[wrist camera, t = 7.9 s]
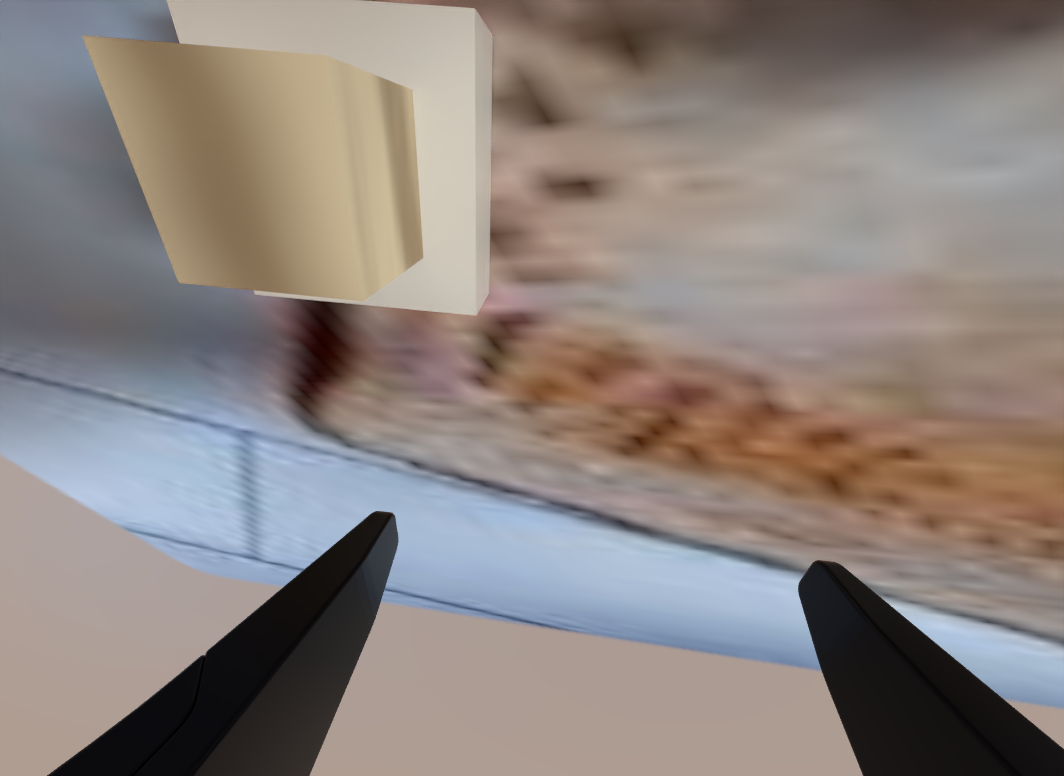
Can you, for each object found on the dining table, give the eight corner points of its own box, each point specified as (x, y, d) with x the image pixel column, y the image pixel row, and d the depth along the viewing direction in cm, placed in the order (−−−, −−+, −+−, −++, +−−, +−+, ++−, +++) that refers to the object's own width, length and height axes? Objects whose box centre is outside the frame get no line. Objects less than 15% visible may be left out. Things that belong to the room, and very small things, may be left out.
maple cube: (412, 89, 12) (326, 54, 8) (423, 257, 15) (363, 301, 10) (253, 76, 12) (82, 35, 8) (291, 245, 15) (178, 282, 10)
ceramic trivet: (492, 35, 14) (474, 8, 11) (489, 292, 18) (476, 315, 16) (237, 17, 14) (162, -14, 11) (298, 274, 18) (255, 294, 16)
